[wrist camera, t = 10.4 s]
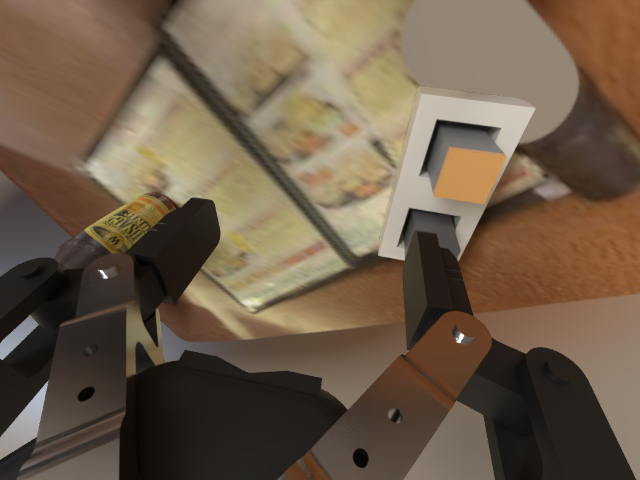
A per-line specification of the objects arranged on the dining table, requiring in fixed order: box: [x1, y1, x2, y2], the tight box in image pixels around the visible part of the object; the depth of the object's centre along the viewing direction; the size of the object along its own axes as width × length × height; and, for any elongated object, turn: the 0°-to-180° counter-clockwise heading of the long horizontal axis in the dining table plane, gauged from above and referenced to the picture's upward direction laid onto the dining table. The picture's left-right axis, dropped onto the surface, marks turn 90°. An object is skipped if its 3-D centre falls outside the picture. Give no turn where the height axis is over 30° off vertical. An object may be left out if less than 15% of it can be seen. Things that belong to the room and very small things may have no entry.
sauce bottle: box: [28, 192, 176, 318], centre depth 35 cm, size 6×6×20 cm
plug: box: [426, 121, 507, 204], centre depth 25 cm, size 4×4×8 cm
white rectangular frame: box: [378, 86, 536, 261], centre depth 27 cm, size 18×9×12 cm, turn 175°
